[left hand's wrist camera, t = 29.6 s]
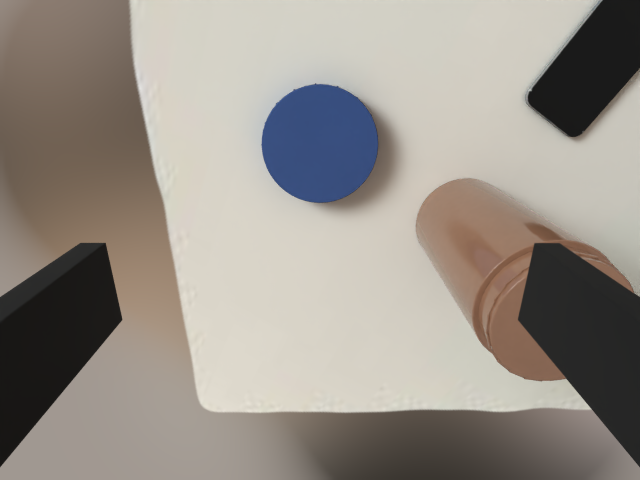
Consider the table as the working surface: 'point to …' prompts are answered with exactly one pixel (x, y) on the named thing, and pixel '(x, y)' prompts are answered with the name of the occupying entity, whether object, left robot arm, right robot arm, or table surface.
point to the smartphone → (589, 67)
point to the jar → (495, 265)
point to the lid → (319, 143)
